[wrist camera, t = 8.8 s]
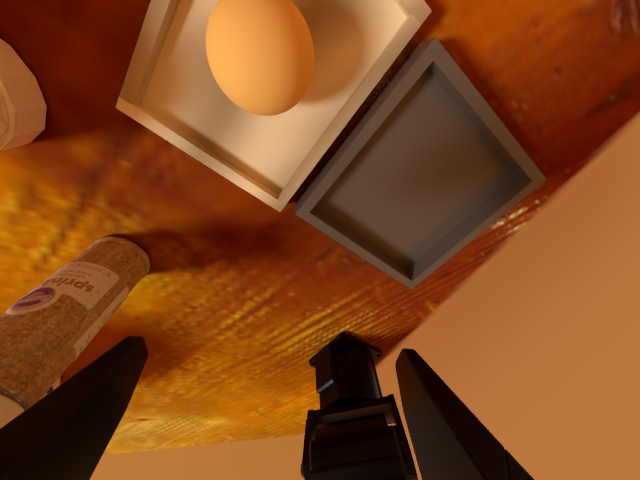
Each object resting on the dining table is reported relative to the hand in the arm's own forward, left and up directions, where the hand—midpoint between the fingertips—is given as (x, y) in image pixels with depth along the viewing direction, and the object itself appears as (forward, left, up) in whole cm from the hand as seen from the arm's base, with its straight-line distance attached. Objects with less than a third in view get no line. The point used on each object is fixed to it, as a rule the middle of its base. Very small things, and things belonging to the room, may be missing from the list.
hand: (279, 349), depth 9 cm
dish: (-6, -7, -13) cm, 16 cm away
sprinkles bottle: (+9, +12, -13) cm, 20 cm away
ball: (+6, -7, -12) cm, 15 cm away
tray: (+6, -7, -13) cm, 15 cm away
